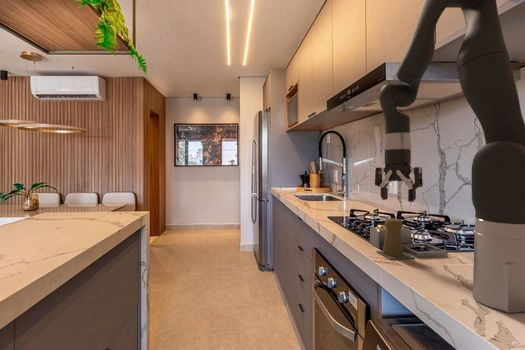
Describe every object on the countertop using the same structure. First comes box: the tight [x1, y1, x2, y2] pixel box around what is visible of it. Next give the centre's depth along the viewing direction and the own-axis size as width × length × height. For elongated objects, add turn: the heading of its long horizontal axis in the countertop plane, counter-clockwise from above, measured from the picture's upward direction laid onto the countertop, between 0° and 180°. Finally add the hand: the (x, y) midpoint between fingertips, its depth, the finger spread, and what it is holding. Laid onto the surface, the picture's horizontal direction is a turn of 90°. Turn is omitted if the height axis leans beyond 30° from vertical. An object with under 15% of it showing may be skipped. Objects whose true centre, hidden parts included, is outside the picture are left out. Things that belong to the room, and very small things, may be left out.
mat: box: [376, 250, 416, 261], centre depth 96 cm, size 8×8×1 cm
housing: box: [369, 226, 449, 259], centre depth 102 cm, size 17×17×6 cm
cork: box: [382, 218, 404, 257], centre depth 96 cm, size 6×6×11 cm
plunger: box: [376, 224, 386, 230], centre depth 107 cm, size 3×3×5 cm
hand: (397, 200), depth 95 cm, fingers open, 8 cm apart
